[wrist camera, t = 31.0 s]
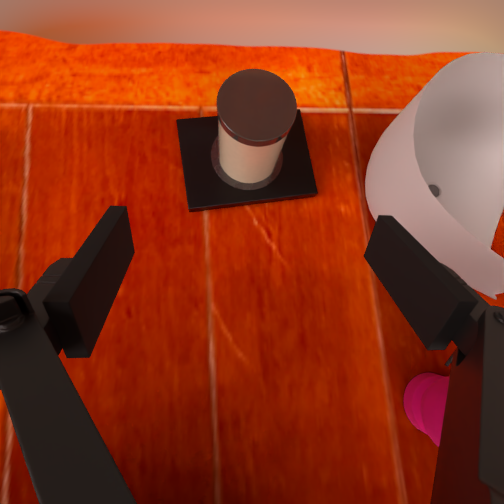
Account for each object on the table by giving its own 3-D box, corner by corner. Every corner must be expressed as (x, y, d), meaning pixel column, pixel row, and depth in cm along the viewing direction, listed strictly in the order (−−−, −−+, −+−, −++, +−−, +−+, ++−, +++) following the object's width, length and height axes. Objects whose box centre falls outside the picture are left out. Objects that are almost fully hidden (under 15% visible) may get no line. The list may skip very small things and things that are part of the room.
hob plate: (189, 212, 34) (188, 208, 32) (177, 125, 35) (176, 118, 34) (314, 196, 35) (318, 192, 34) (297, 115, 37) (300, 108, 36)
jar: (222, 187, 33) (222, 144, 24) (214, 130, 34) (211, 70, 25) (282, 181, 34) (303, 137, 25) (272, 126, 35) (289, 66, 26)
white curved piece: (385, 101, 39) (455, 15, 27) (513, 167, 39) (636, 109, 28) (327, 231, 35) (380, 194, 23) (470, 304, 35) (593, 303, 23)
